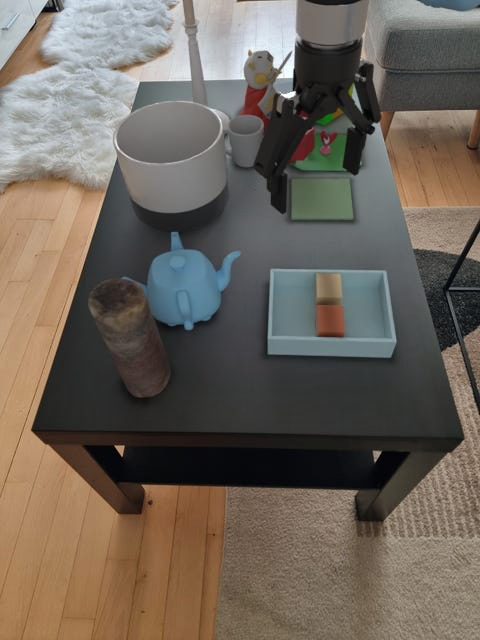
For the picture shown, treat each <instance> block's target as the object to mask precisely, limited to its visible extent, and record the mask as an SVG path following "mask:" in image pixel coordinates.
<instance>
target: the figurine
mask: <svg viewBox="0 0 480 640" xmlns="http://www.w3.org/2000/svg"><path fill="white" fill-rule="evenodd" d="M293 50H294V49H293ZM293 50H291V51H289V53H288V54H287V55H286V57H285V58H284V59H283V61H282V63H281V64H280V65H279V67H278V68H277V67H275V66H274V60H275V59H274V56H273V55H272V53H270V51H269V50H268V49H267V50H266V49H265V50H264V49H263V50H257V51H252V50H251V49H248V51H247V55H248V57H247V58H246V60H245V62H244V66H243V77H244V80H245V82H246V84H247V85H246V86H247V87H246V91H245V96H244V105H243V108H242V110H240V112H239V115H238V116H241V115H253V116H256V117H259V118H260V119H261V120H262V121H263V123H264V129H263V131H266V128H267V125H268V122H269V119H270V117H271V114H272V109H273V98H274V95H275V93H276V92H277V91H276V89H275V88H274V84H275V82H276V81H277V79H278V77H279V75H281V74H283V71H282V70H283V69H284V67H285V66H286V64H287V62H288V61H289V60H290V58H291V57H292V54H293Z"/></svg>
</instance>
